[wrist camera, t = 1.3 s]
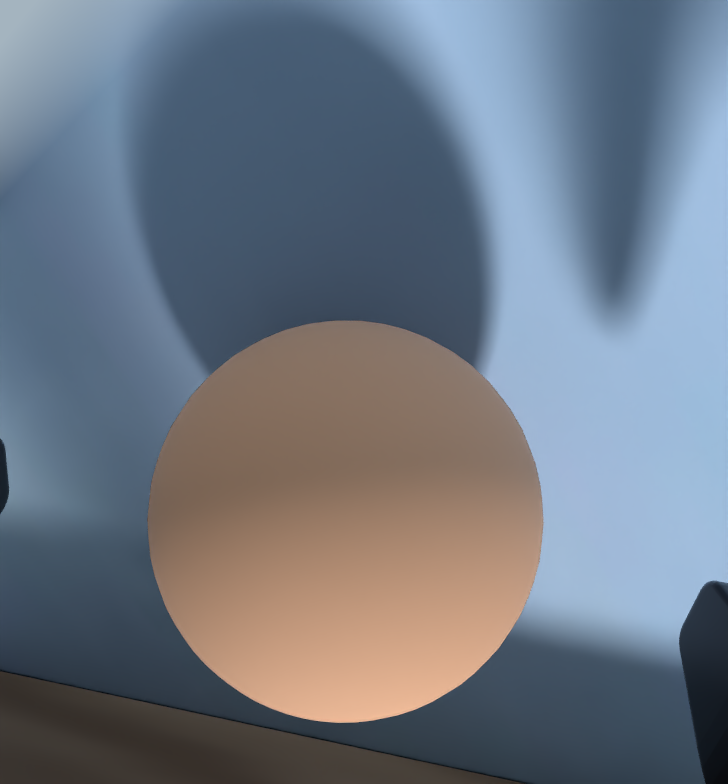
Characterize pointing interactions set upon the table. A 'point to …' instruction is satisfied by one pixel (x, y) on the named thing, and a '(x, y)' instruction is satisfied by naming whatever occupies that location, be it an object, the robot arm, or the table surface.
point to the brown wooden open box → (175, 746)
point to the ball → (345, 521)
